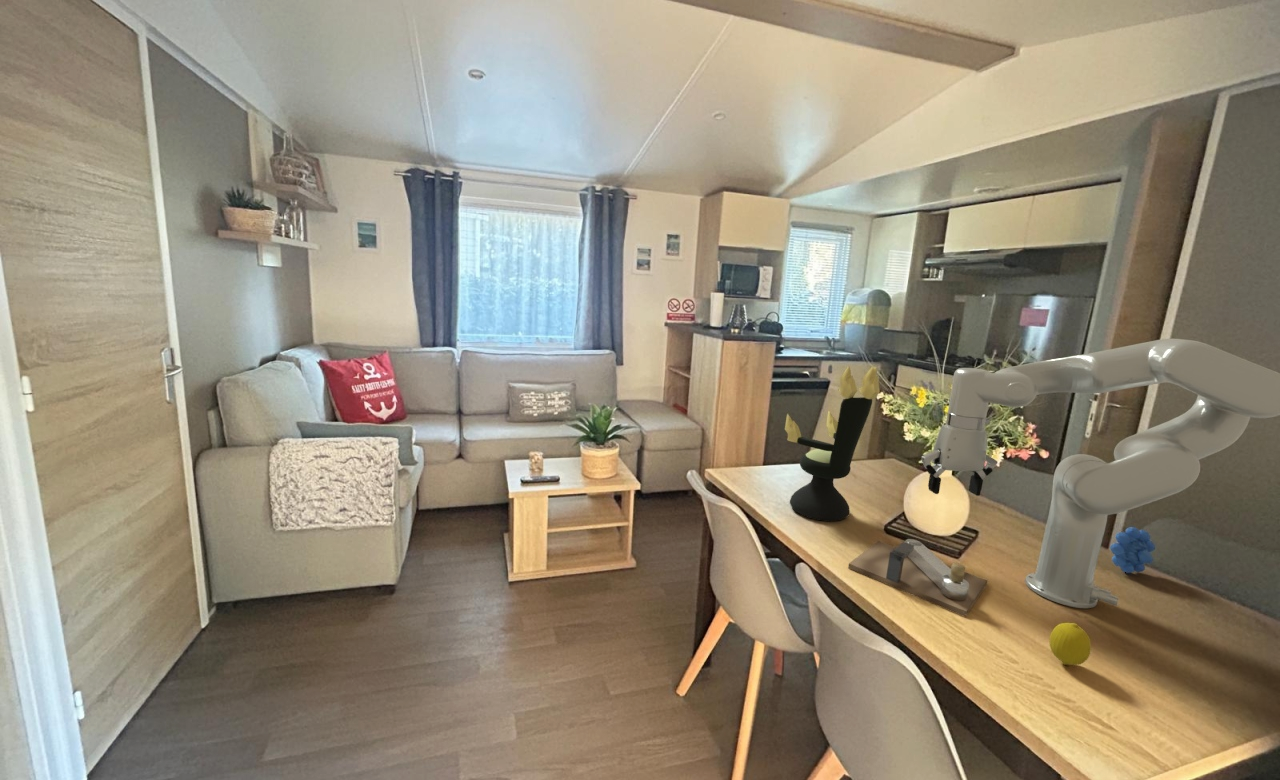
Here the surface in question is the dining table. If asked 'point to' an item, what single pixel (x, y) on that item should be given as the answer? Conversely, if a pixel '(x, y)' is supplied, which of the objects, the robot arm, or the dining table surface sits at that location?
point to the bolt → (937, 571)
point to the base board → (917, 578)
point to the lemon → (1070, 644)
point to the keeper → (898, 561)
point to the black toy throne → (833, 451)
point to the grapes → (1132, 550)
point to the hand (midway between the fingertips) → (953, 492)
